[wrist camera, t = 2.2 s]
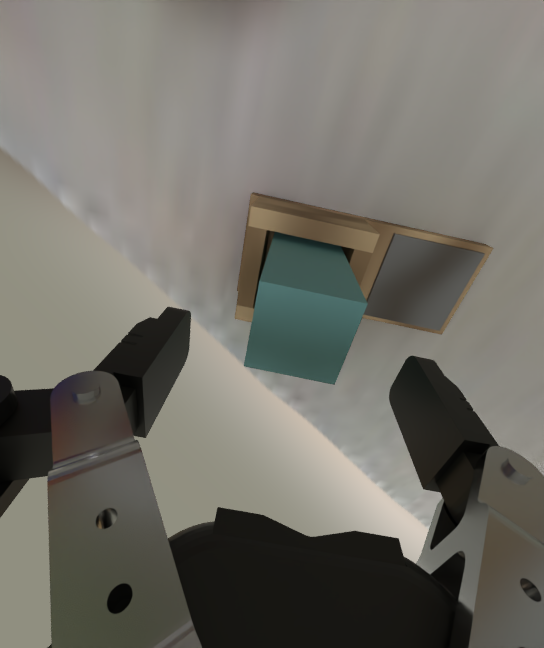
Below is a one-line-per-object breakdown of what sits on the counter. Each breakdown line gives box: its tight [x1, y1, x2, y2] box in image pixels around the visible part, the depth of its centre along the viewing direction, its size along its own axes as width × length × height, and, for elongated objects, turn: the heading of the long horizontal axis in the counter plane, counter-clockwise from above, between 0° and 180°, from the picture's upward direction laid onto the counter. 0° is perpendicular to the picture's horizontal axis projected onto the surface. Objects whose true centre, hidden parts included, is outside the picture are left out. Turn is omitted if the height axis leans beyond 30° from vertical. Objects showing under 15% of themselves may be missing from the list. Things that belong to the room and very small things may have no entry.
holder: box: [235, 193, 493, 334], centre depth 19 cm, size 16×7×5 cm, turn 79°
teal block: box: [244, 232, 368, 384], centre depth 16 cm, size 4×4×10 cm
